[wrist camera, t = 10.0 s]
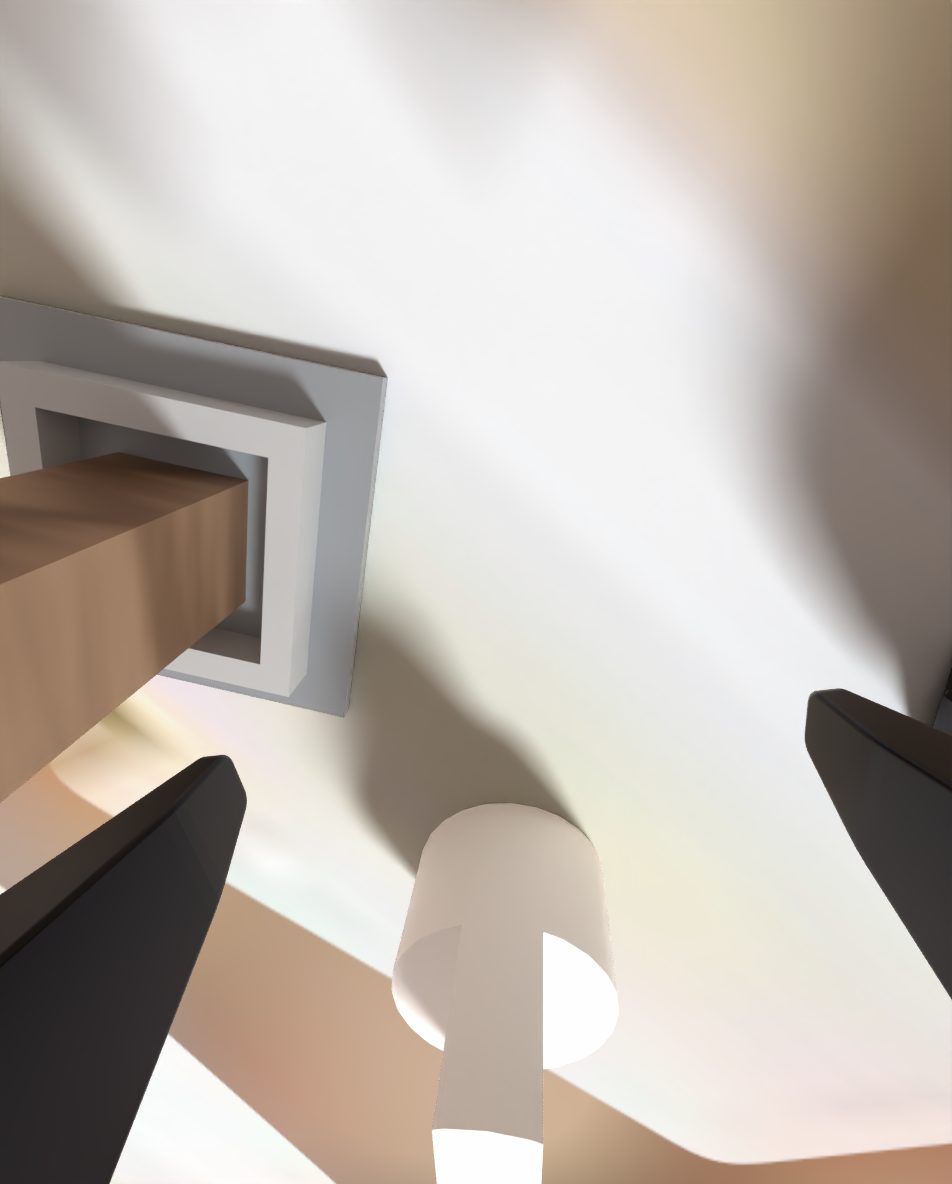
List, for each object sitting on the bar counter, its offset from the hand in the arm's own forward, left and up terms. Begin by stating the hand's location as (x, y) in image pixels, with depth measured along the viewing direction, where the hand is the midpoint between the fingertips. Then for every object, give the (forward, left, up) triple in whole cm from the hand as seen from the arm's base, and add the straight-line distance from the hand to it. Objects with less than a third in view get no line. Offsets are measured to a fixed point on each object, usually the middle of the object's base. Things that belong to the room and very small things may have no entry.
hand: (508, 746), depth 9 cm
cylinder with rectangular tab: (+1, +18, -13) cm, 22 cm away
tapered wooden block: (+13, 0, -12) cm, 18 cm away
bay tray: (+13, 0, -13) cm, 19 cm away
